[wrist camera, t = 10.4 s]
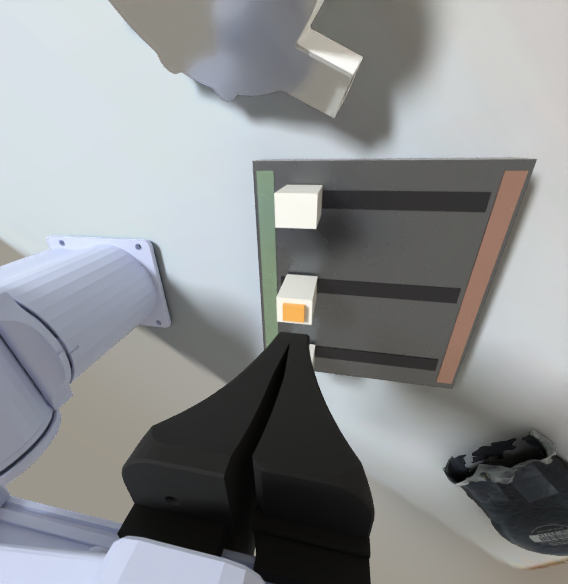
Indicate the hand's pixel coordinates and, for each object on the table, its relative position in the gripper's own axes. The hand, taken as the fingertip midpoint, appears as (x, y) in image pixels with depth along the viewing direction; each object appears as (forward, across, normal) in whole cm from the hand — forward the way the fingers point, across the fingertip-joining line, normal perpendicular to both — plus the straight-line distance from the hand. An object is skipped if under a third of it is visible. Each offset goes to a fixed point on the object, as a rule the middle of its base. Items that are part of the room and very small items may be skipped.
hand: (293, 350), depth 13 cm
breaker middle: (+7, +1, 0) cm, 7 cm away
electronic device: (+9, -21, +21) cm, 31 cm away
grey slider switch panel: (+9, -4, 0) cm, 10 cm away
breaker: (+7, 0, -6) cm, 9 cm away
